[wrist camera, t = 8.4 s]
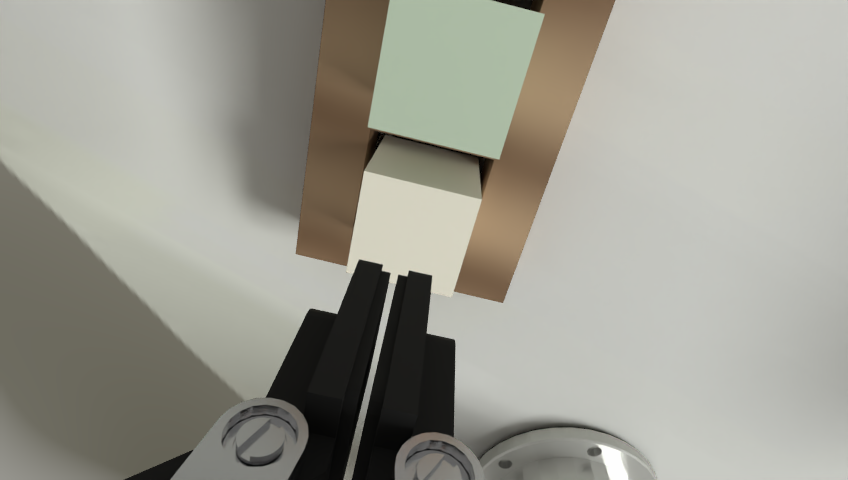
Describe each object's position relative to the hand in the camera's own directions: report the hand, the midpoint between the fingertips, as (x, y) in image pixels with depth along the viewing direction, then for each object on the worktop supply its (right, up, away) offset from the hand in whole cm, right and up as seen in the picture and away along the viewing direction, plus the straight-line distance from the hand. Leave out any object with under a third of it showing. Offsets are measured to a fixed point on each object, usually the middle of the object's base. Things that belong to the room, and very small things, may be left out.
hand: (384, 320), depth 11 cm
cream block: (+1, +4, +11) cm, 12 cm away
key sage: (+2, +9, +7) cm, 12 cm away
